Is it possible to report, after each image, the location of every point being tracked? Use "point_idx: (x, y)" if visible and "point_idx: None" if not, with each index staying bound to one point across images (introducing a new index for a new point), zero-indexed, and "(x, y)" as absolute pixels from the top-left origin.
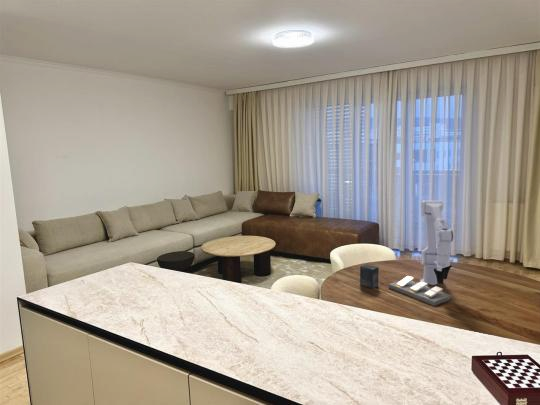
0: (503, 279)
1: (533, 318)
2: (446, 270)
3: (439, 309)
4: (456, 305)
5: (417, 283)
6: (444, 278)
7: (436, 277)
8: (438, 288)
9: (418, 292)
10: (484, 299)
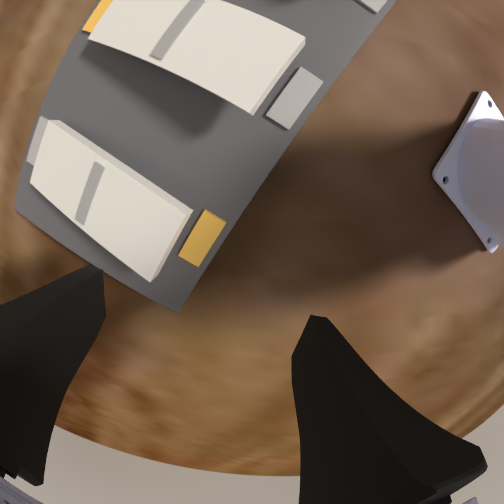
0: (466, 417)
1: (170, 463)
2: (315, 465)
3: (15, 229)
4: (108, 315)
5: (233, 5)
6: (298, 348)
7: (23, 296)
8: (142, 243)
9: (110, 58)
10: (268, 416)
